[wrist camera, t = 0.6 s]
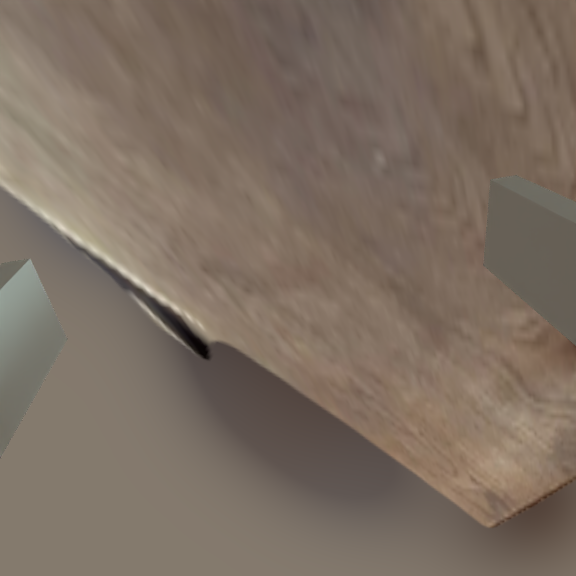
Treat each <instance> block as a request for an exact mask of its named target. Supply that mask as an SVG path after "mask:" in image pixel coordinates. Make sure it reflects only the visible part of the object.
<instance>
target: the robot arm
mask: <svg viewBox="0 0 576 576" xmlns="http://www.w3.org/2000/svg"><path fill="white" fill-rule="evenodd" d="M483 266H484V267H486V268H487V269H488V270H489V271H490V272H491V273H493V274H494V275H495V276H496V277H497V278H498V279H499V280H501V281H502V282H503V283H504V284H505V285H506V286H507V287H509V288H510V289H511V290H512V291H513V292H514V293H516V294H517V295H518V296H519V297H520V298H521V299H522V300H524V301H525V302H526V303H527V304H528V305H529V306H531V307H532V308H533V309H534V310H535V311H536V312H537V313H539V314H540V315H541V316H542V317H543V318H544V319H545V320H547V321H548V322H549V323H550V324H551V325H552V326H554V327H555V328H556V329H557V330H558V331H559V332H560V333H562V334H563V335H564V336H565V337H566V338H567V339H568V340H570V341H571V342H572V343H573V344H574V345H575V346H576V202H575V201H572V200H570V199H568V198H566V197H564V196H561V195H559V194H557V193H555V192H552V191H550V190H548V189H546V188H544V187H541V186H539V185H537V184H535V183H532V182H530V181H528V180H526V179H524V178H521V177H519V176H517V175H515V176H509V177H503V178H497V179H492V180H490V190H489V203H488V215H487V227H486V240H485V252H484V264H483ZM66 341H67V337H66V335H65V333H64V331H63V328H62V326H61V324H60V322H59V320H58V318H57V316H56V313H55V311H54V309H53V307H52V305H51V303H50V300H49V298H48V296H47V294H46V292H45V290H44V288H43V285H42V283H41V281H40V279H39V277H38V274H37V272H36V270H35V268H34V266H33V264H32V262H31V259H24V260H19V261H13V262H7V263H2V264H1V265H0V458H1V456H2V454H3V453H4V451H5V449H6V447H7V446H8V444H9V442H10V440H11V438H12V437H13V435H14V433H15V431H16V430H17V428H18V426H19V424H20V422H21V421H22V419H23V417H24V415H25V414H26V412H27V410H28V408H29V406H30V405H31V403H32V401H33V399H34V398H35V396H36V394H37V392H38V391H39V389H40V387H41V385H42V383H43V382H44V380H45V378H46V376H47V375H48V373H49V371H50V369H51V368H52V366H53V364H54V362H55V360H56V359H57V357H58V355H59V353H60V351H61V350H62V348H63V346H64V344H65V343H66Z"/></svg>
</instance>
